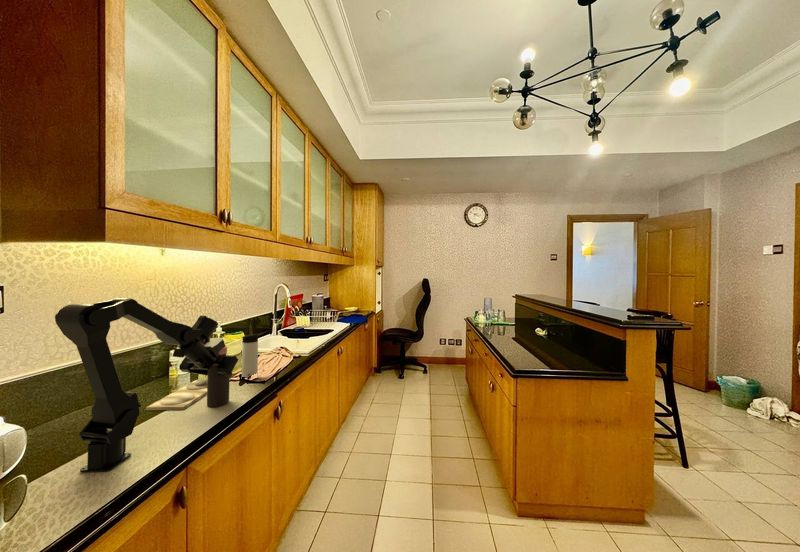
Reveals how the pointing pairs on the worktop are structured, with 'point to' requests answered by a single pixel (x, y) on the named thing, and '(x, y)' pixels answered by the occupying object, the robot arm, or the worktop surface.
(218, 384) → the vinegar
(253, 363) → the travel mug
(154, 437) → the worktop surface
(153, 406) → the board
